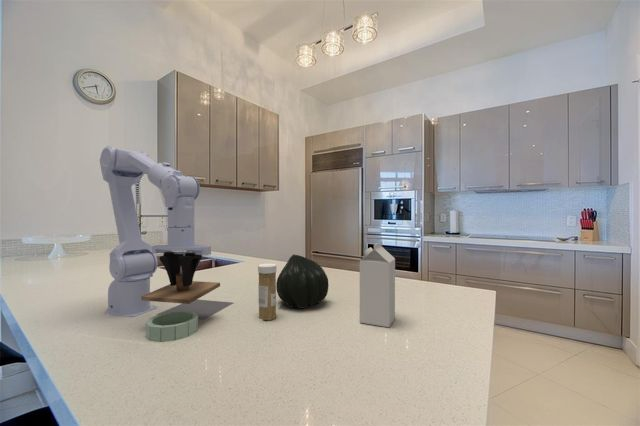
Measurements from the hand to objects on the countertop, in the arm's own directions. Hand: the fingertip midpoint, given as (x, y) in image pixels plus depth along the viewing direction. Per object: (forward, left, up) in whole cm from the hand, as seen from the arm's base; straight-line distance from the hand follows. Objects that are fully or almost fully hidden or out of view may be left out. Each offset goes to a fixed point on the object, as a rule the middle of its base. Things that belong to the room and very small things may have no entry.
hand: (181, 285), depth 70 cm
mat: (-4, +11, -10) cm, 15 cm away
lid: (0, +1, -2) cm, 2 cm away
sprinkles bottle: (+17, +10, -10) cm, 22 cm away
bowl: (+1, -4, -10) cm, 10 cm away
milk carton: (+44, +15, -10) cm, 48 cm away
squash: (+22, +23, -10) cm, 33 cm away
